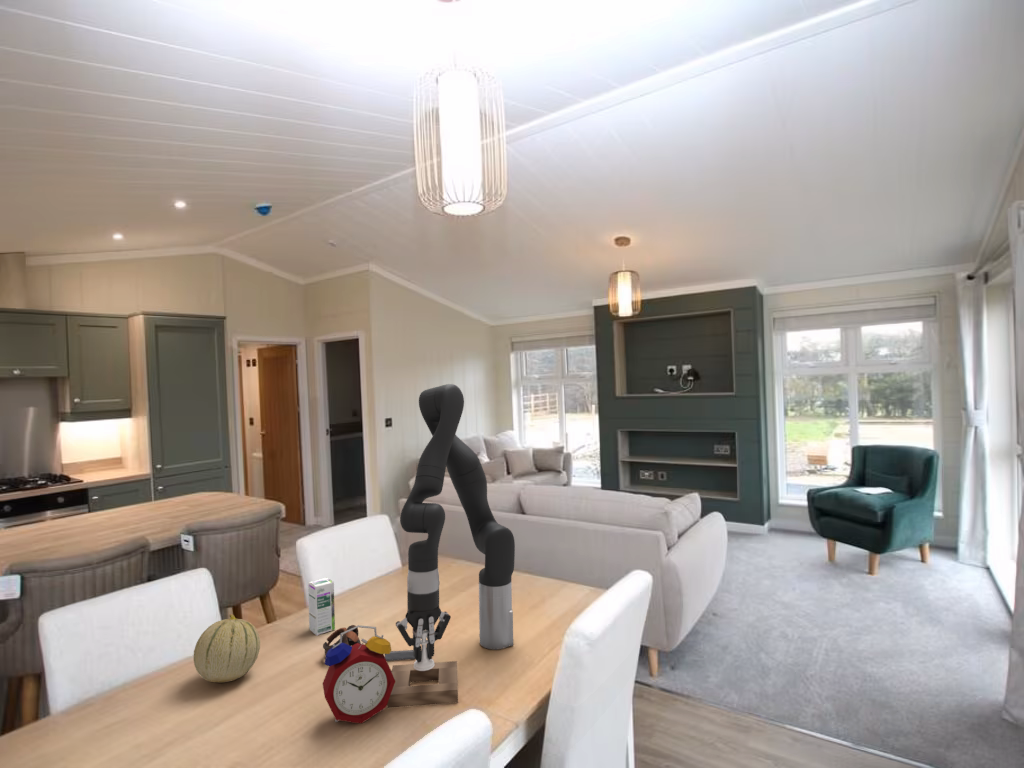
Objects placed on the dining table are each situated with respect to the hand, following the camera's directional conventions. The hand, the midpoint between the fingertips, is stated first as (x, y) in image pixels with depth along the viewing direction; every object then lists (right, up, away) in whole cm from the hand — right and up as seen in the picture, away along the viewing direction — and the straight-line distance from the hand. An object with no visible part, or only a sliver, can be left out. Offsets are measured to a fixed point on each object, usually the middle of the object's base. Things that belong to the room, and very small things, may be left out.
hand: (423, 659), depth 130 cm
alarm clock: (-13, -8, -9) cm, 18 cm away
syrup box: (-36, -8, +33) cm, 49 cm away
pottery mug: (-24, -8, +18) cm, 31 cm away
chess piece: (0, -2, 0) cm, 2 cm away
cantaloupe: (-50, -8, +6) cm, 51 cm away
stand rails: (-8, -7, +10) cm, 15 cm away
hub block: (0, -7, 0) cm, 7 cm away
